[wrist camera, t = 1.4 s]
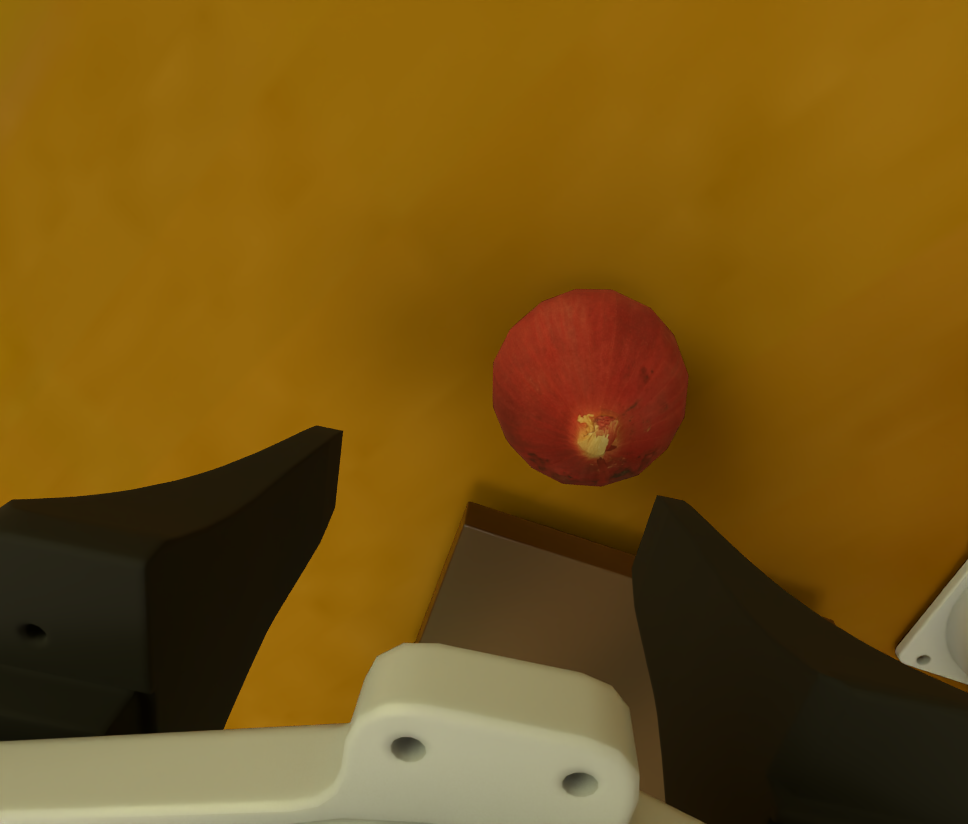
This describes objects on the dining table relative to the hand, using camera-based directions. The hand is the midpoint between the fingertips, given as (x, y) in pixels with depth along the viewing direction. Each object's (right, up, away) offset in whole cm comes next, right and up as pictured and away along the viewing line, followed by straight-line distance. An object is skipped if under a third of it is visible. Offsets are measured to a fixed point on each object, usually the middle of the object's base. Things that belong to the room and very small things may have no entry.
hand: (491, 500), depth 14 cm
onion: (+3, +4, +9) cm, 10 cm away
